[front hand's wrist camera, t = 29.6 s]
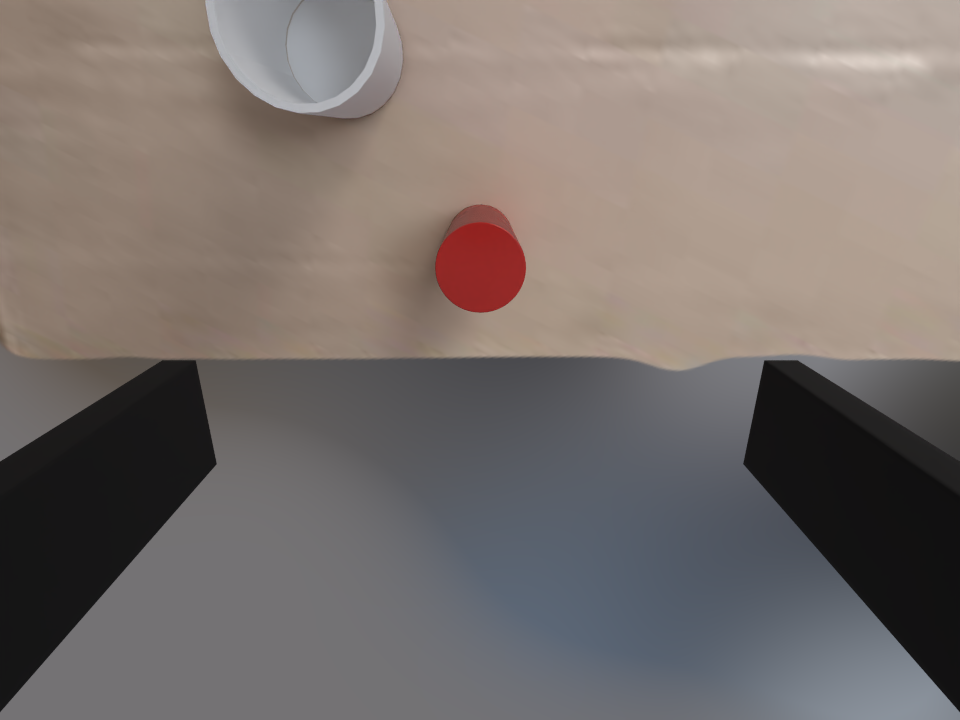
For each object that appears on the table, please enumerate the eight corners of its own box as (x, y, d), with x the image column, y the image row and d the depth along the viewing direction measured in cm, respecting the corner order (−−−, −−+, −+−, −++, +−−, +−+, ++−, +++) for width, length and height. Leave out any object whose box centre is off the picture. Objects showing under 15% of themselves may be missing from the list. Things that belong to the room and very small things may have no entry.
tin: (435, 244, 41) (417, 277, 29) (474, 190, 39) (471, 202, 28) (486, 282, 42) (488, 329, 30) (525, 232, 40) (544, 260, 29)
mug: (437, 65, 36) (421, 30, 27) (343, 153, 38) (298, 150, 29) (323, -88, 33) (259, -190, 24) (228, 16, 35) (133, -39, 26)
